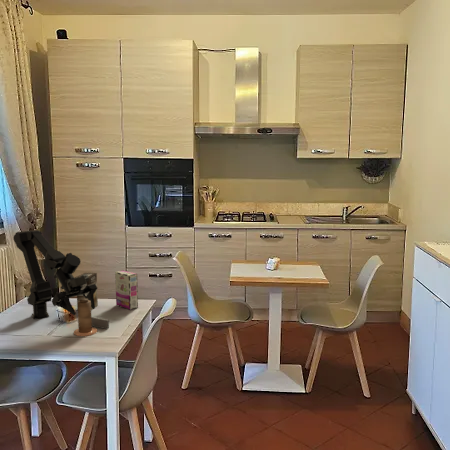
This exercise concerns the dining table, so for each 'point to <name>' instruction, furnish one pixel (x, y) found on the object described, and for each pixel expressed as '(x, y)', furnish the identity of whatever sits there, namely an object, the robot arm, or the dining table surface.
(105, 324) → the grey flat bar
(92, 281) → the coffee box
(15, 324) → the dining table surface
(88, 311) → the walnut mill
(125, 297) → the candy bar box
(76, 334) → the coaster
